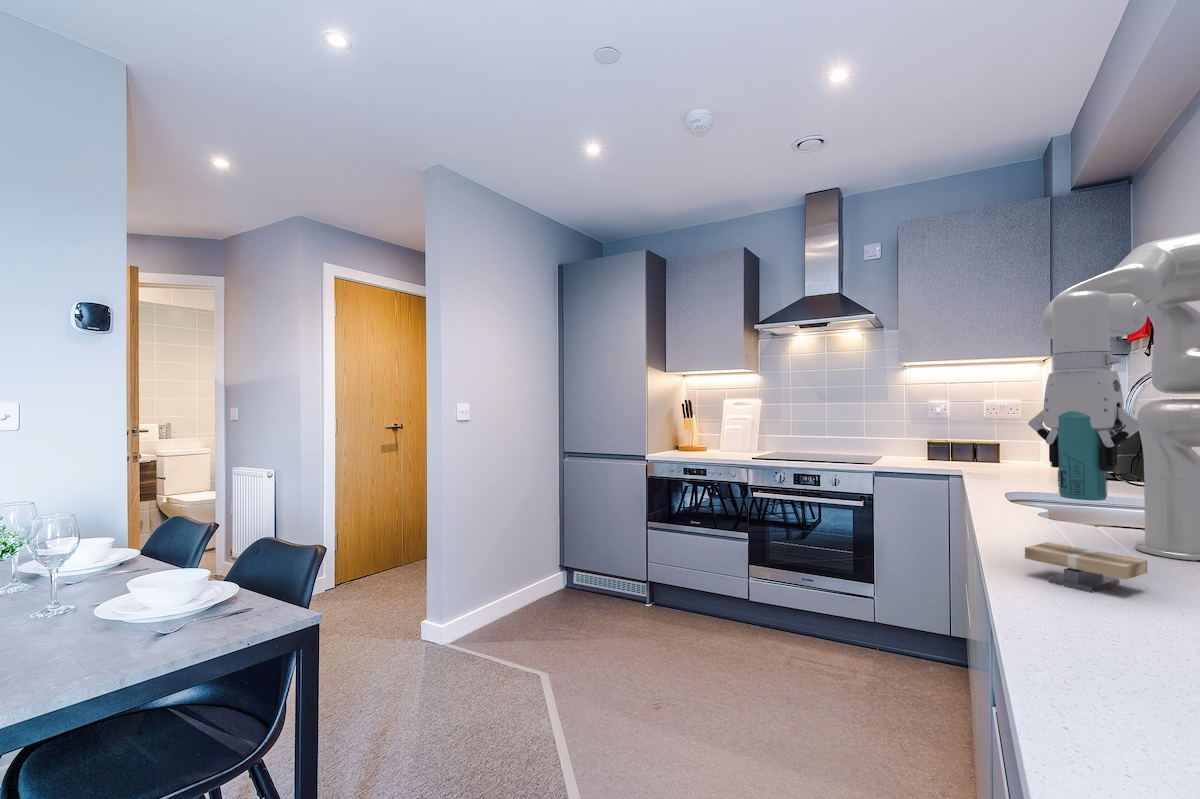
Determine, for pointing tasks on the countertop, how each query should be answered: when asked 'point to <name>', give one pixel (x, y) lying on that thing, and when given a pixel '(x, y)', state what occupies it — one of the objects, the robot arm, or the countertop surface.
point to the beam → (1087, 560)
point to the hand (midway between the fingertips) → (1082, 467)
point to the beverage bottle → (1079, 459)
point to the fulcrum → (1083, 580)
